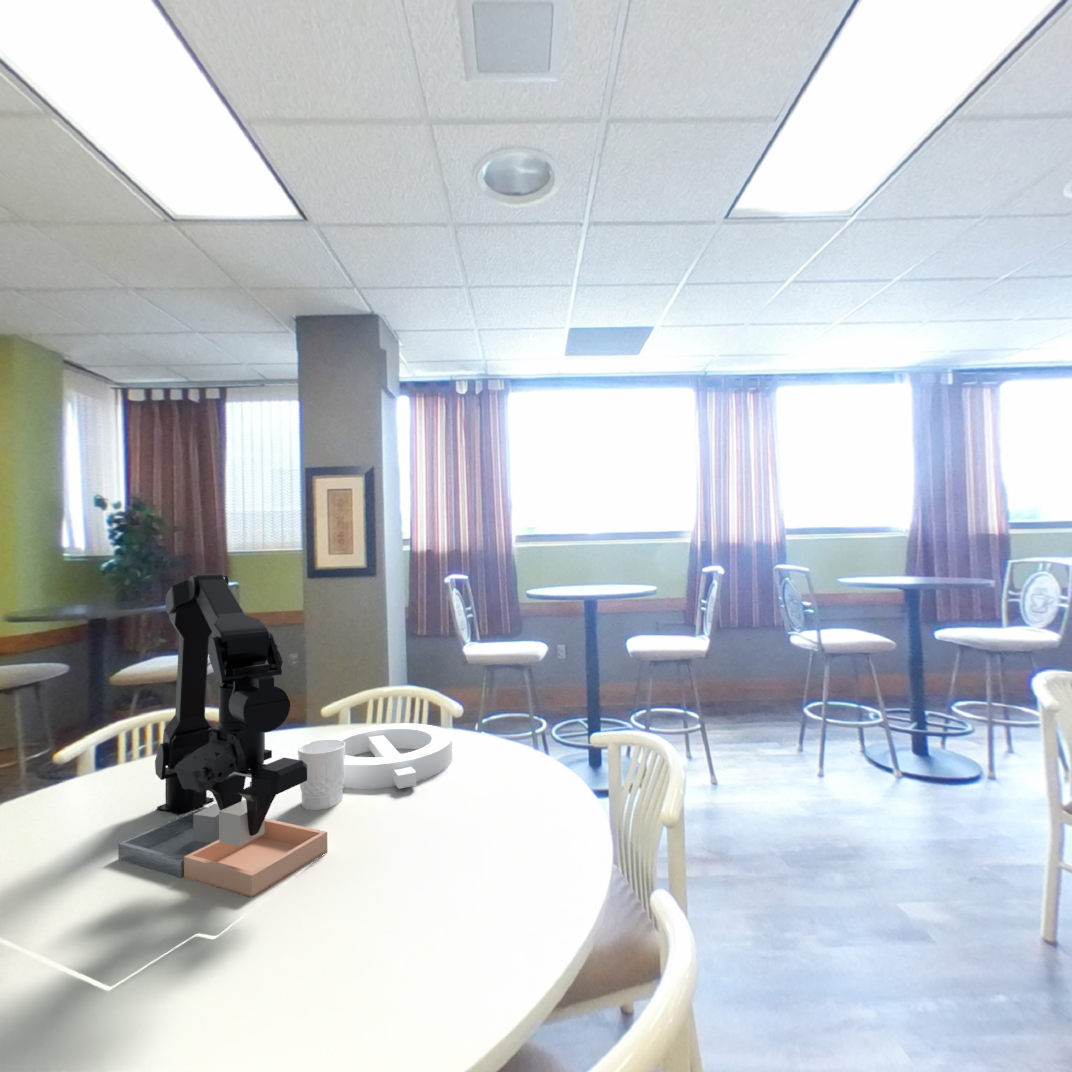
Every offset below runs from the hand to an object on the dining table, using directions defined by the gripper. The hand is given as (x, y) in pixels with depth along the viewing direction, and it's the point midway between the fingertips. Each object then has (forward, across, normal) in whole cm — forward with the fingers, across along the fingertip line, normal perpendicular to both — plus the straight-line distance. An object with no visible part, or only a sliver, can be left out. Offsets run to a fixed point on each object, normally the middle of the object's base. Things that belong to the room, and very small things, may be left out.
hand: (242, 831), depth 82 cm
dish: (+6, 0, +2) cm, 6 cm away
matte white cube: (+1, 0, 0) cm, 1 cm away
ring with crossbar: (+6, -10, +44) cm, 45 cm away
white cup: (+6, -7, +22) cm, 24 cm away
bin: (+6, -13, +2) cm, 15 cm away
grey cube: (+5, -13, +6) cm, 16 cm away
